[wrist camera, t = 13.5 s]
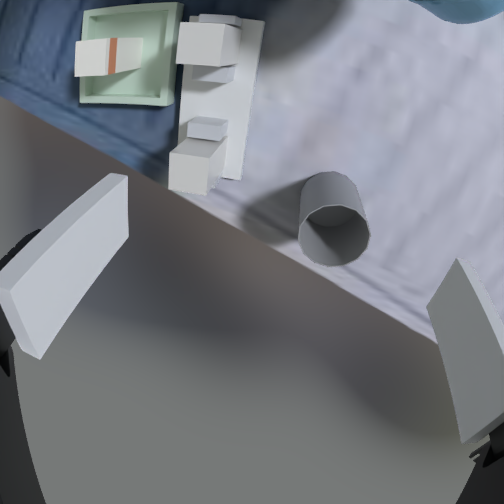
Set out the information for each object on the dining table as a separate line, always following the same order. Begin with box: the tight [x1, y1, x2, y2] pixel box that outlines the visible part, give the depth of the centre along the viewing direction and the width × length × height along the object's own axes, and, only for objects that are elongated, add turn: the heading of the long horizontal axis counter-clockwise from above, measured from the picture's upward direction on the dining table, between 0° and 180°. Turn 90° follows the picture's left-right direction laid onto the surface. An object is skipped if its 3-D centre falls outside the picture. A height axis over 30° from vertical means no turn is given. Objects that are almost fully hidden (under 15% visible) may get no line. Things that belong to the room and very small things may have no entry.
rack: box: [178, 14, 265, 189], centre depth 36 cm, size 21×9×6 cm, turn 172°
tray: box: [80, 2, 184, 106], centre depth 34 cm, size 14×14×2 cm
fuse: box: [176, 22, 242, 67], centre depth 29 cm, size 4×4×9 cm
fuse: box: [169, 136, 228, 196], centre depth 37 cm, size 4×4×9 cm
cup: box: [298, 171, 371, 267], centre depth 40 cm, size 8×8×10 cm
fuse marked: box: [75, 37, 143, 77], centre depth 31 cm, size 4×4×9 cm
